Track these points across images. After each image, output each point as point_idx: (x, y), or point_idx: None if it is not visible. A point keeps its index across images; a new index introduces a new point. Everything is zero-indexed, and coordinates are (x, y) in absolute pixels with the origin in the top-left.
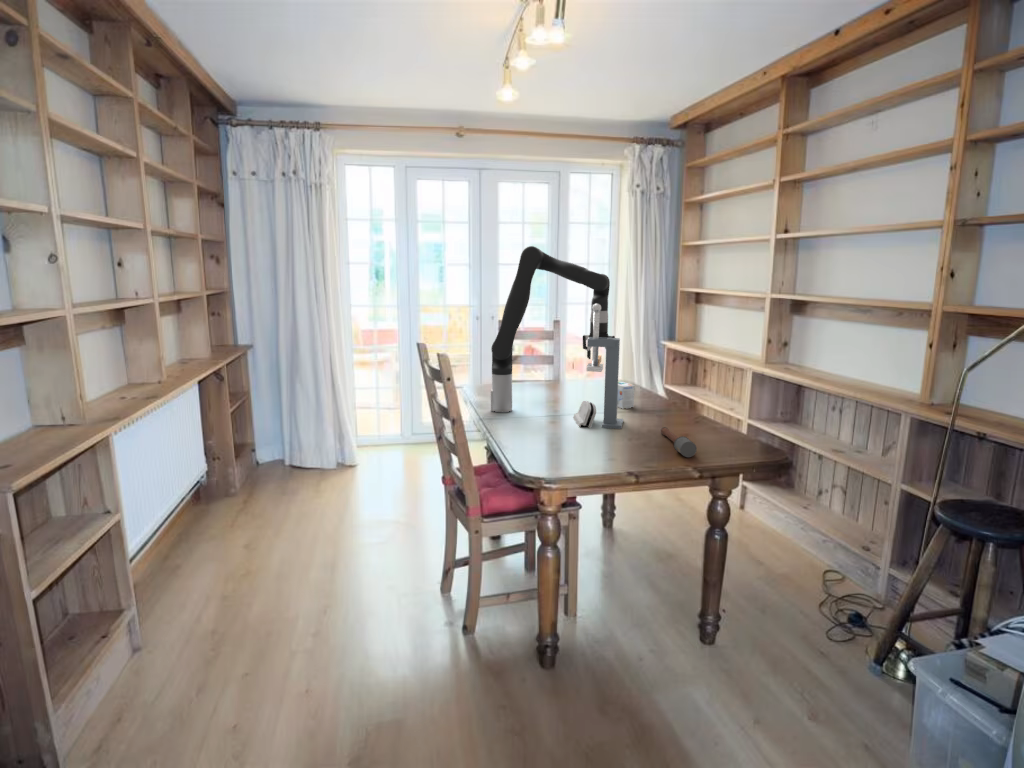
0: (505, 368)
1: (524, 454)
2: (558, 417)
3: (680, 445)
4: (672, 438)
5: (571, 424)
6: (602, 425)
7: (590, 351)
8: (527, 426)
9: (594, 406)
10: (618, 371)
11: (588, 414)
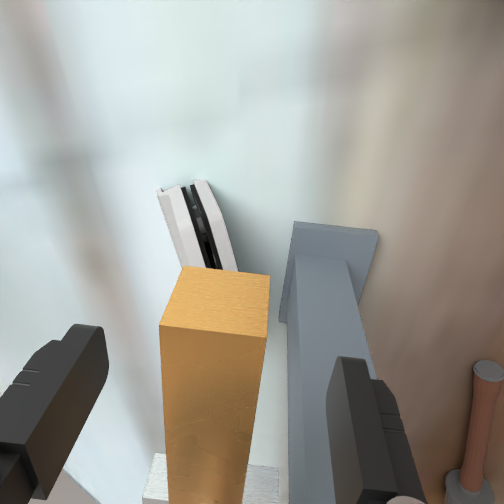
0: None
1: (113, 480)
2: (93, 194)
3: None
4: (467, 453)
5: (167, 285)
6: (281, 320)
7: (46, 466)
8: (30, 317)
9: None
10: None
11: None
